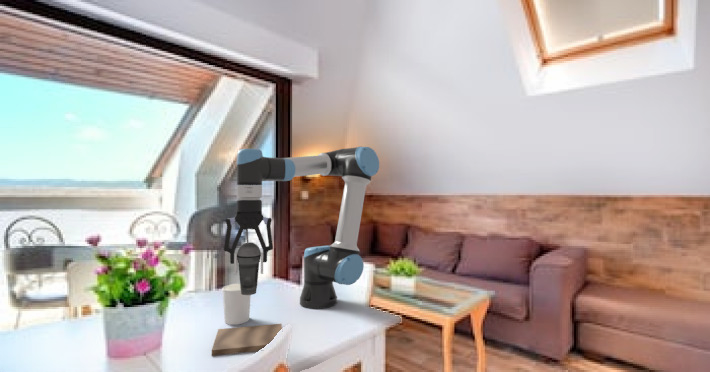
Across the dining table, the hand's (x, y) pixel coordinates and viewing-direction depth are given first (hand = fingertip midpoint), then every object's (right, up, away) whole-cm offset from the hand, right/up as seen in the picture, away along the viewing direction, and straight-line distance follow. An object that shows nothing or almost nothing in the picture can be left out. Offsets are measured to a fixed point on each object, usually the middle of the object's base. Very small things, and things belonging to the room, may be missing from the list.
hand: (248, 273), depth 114 cm
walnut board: (0, -21, 0) cm, 21 cm away
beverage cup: (0, -6, 0) cm, 6 cm away
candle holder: (-9, -21, +17) cm, 29 cm away
